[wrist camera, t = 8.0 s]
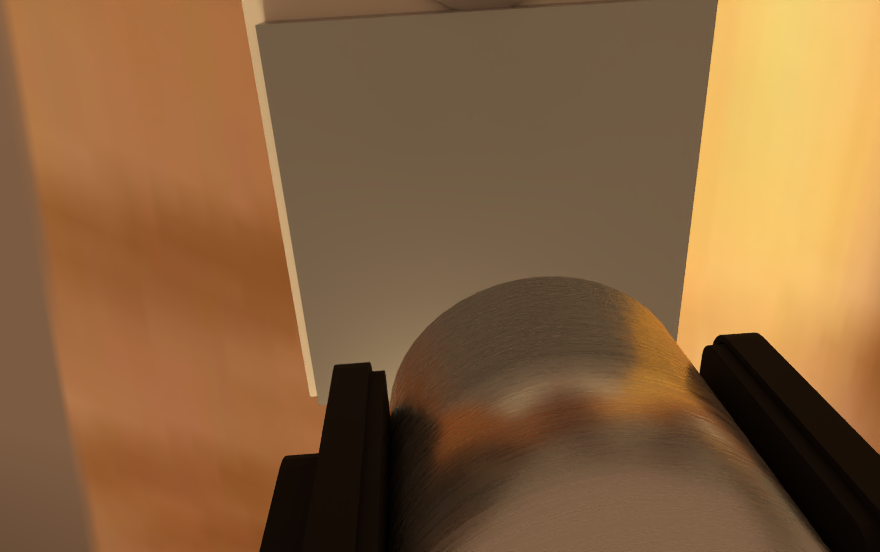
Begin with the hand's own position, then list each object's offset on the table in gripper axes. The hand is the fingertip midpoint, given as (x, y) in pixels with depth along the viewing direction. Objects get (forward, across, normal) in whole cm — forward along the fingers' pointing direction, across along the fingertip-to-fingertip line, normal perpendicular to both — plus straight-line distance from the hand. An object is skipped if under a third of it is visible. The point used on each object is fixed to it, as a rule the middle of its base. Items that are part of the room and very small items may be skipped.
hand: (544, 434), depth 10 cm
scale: (+13, 0, -2) cm, 13 cm away
